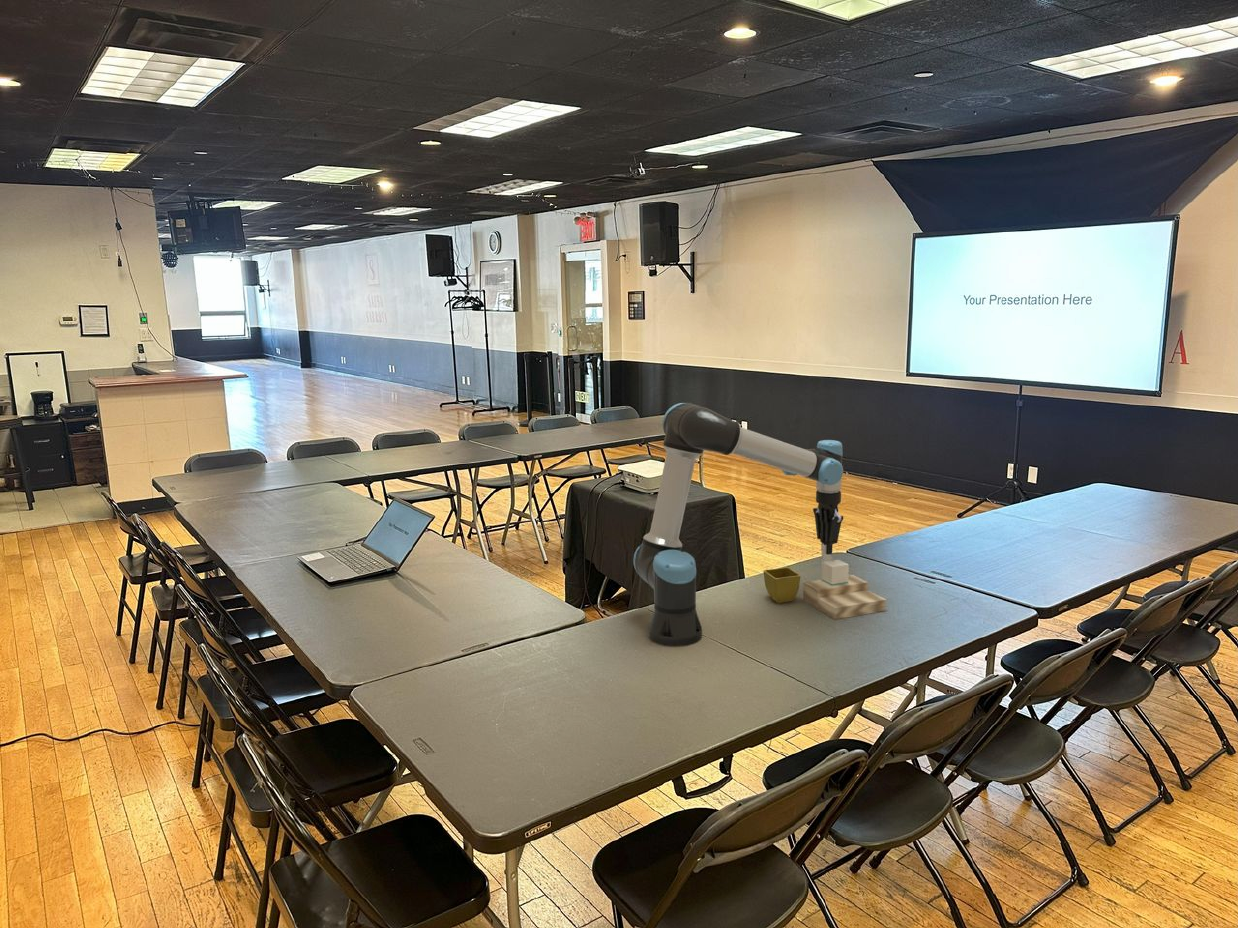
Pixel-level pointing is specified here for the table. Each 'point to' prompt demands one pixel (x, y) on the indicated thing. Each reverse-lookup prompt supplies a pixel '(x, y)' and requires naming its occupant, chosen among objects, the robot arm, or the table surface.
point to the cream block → (835, 572)
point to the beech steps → (843, 598)
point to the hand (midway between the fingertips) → (826, 563)
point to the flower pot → (782, 584)
